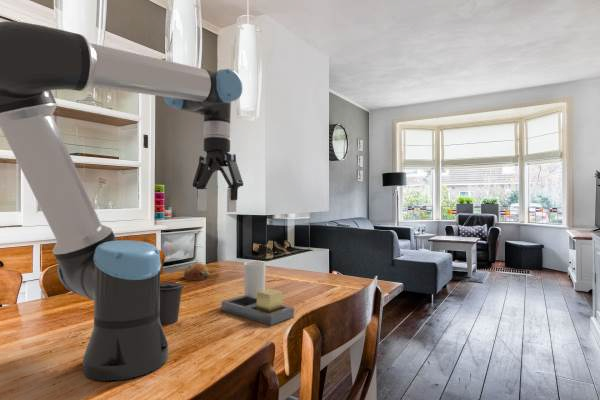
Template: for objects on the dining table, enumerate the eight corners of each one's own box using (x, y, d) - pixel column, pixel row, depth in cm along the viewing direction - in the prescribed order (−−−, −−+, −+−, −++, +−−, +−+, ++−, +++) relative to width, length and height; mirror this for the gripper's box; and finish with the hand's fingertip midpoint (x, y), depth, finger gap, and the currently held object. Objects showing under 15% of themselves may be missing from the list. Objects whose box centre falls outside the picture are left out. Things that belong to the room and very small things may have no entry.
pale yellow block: (269, 321, 96) (269, 295, 96) (256, 317, 99) (256, 291, 99) (282, 316, 100) (282, 291, 100) (269, 313, 103) (269, 288, 103)
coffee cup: (165, 328, 89) (165, 288, 89) (143, 322, 93) (144, 284, 93) (189, 319, 96) (190, 282, 96) (168, 314, 100) (169, 278, 100)
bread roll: (204, 283, 153) (201, 265, 155) (215, 277, 146) (211, 258, 148) (182, 287, 146) (178, 268, 148) (193, 280, 139) (189, 260, 141)
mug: (258, 305, 110) (258, 266, 110) (239, 302, 113) (239, 264, 113) (273, 297, 119) (273, 260, 119) (255, 294, 122) (255, 259, 122)
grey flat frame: (271, 325, 92) (271, 315, 92) (221, 309, 105) (221, 301, 105) (293, 317, 99) (293, 307, 99) (244, 303, 112) (244, 295, 112)
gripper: (256, 135, 99) (255, 212, 99) (202, 143, 115) (201, 210, 115) (235, 131, 94) (234, 213, 94) (181, 140, 109) (180, 210, 109)
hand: (216, 211), depth 104 cm, fingers open, 13 cm apart
